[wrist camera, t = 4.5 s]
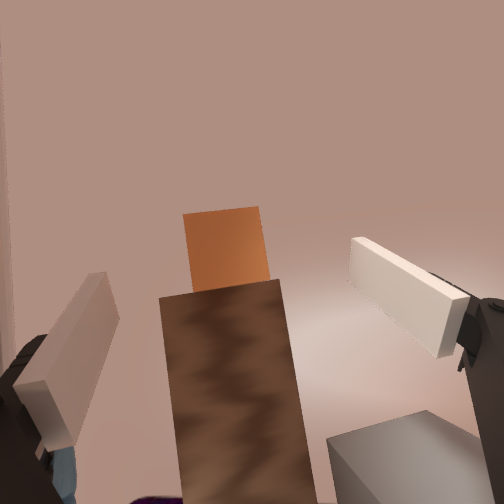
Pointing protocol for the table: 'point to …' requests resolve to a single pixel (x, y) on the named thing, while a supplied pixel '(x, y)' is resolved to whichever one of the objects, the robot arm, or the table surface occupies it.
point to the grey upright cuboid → (410, 463)
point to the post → (235, 397)
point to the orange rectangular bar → (225, 248)
